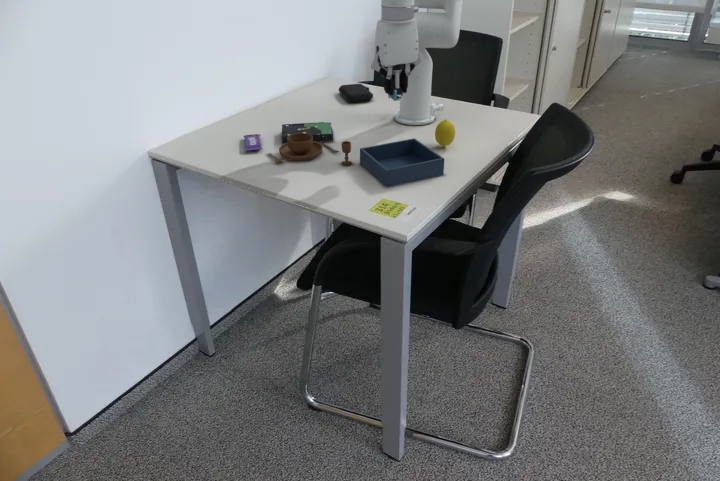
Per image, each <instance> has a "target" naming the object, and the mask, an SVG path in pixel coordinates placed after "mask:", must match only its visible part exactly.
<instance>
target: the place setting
mask: <svg viewBox="0 0 720 481" xmlns="http://www.w3.org/2000/svg"><path fill="white" fill-rule="evenodd" d="M287 142H288V143H285V144H281V145H280V146H279V148H278V152H279V155H280V156H281V157H282V158H279V157H276V156H275V155H273V154H272V153H270V152H269V153H268V155H269V157H272V158H273V159H274V161H275V162H276V163H283V162H284V159H286V160H289V161H293V162H307V161H311V160H314V159H316V158H318V157H320V155H321V154H322V153H323V150H324V148H323V146H324V147H326V148H327V149H329V150H331V152H332V153H340V152H341V151H342V153H343V154H344V161H341V166H344V167H349V166H352V165H353V162H352V161H350V160H349V153H351V151H352V142H351V141H349V140H343V141H342V142H341V151H340V150H335V149H333V148H332V147H330V146H329V145H327V144H326V143H324V142H319V143H318V142H315V141H313V136H312V135H310V134H307V133H296V134H292V135H290V136H288V137H287Z"/></svg>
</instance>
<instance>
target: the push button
mask: <svg viewBox="0 0 720 481" xmlns="http://www.w3.org/2000/svg"><path fill="white" fill-rule="evenodd" d="M404 68H405V64H398V65H394V66H393V68H392V79H393V80H394V82H393V95H391V96H390V95H389V94H387V96H388V99H392V101H394V102H398V101H399V102H400V101H402V100H401V97H402V96H403V90H402V89H401V83H400V79H399V74H400V73H401V70H402V69H404ZM386 69H387V68H386Z"/></svg>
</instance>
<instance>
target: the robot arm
mask: <svg viewBox="0 0 720 481" xmlns="http://www.w3.org/2000/svg"><path fill="white" fill-rule="evenodd" d="M380 1H381V2H380V19H378V20H377V22H376V27H375V32H374V40H373V42H374V43H373V60H372V63H371V64H370V69H372V70H374V71H376V72H377V73H379V74H380V75H381V77H383V90H384V93H385V94H387V95H388V94H389V95H390V96H391V95H393V82H394V80H393V79H392V68H393V66H394V65H398V64H405V68H404V69H402V70H401V71H400V73H399V79H400V83H401V89H402V90H403V96H402V97H401V100H402V101H399V111H397V112H395V114H394V120H395V121H396V122H397V123H400V124H402V125H408V126H423V125H428V124H430V123H432V122H434V121H435V118H436V116H435V114H434V113H435V112H439V111H440V112H441V111H443V110H444V108H445V107H444V106H445V105H444V104H443V103H440V104H439V103H438V104H436V102H433V103H431V102H432V101H431V100H432V82H433V59H432V57H431V55H430V53H429V52H428V50H427V49H429V48H430V49H452V48H454V47H455V46H456V45H457V44H458V41H459V38H460V30H461V22H462V12H463V2H464V0H380ZM419 9H430V10H431V9H434V10H444V11H445V12H432V11H419ZM380 65H381V66H380ZM386 68H387V69H386Z"/></svg>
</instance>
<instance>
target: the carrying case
mask: <svg viewBox="0 0 720 481" xmlns="http://www.w3.org/2000/svg"><path fill="white" fill-rule="evenodd" d="M338 92H339V93H340V94H341V96H343V98H344V99H345V100H346V101H347V102H348V103H351V104H354V103H364V102H370V101H372V100H373V98H374V93H372V92H371V91H370V88H369V87H368V86H365V85H363V84H362V83H351V84H341V85H340V86H339V88H338Z"/></svg>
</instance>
